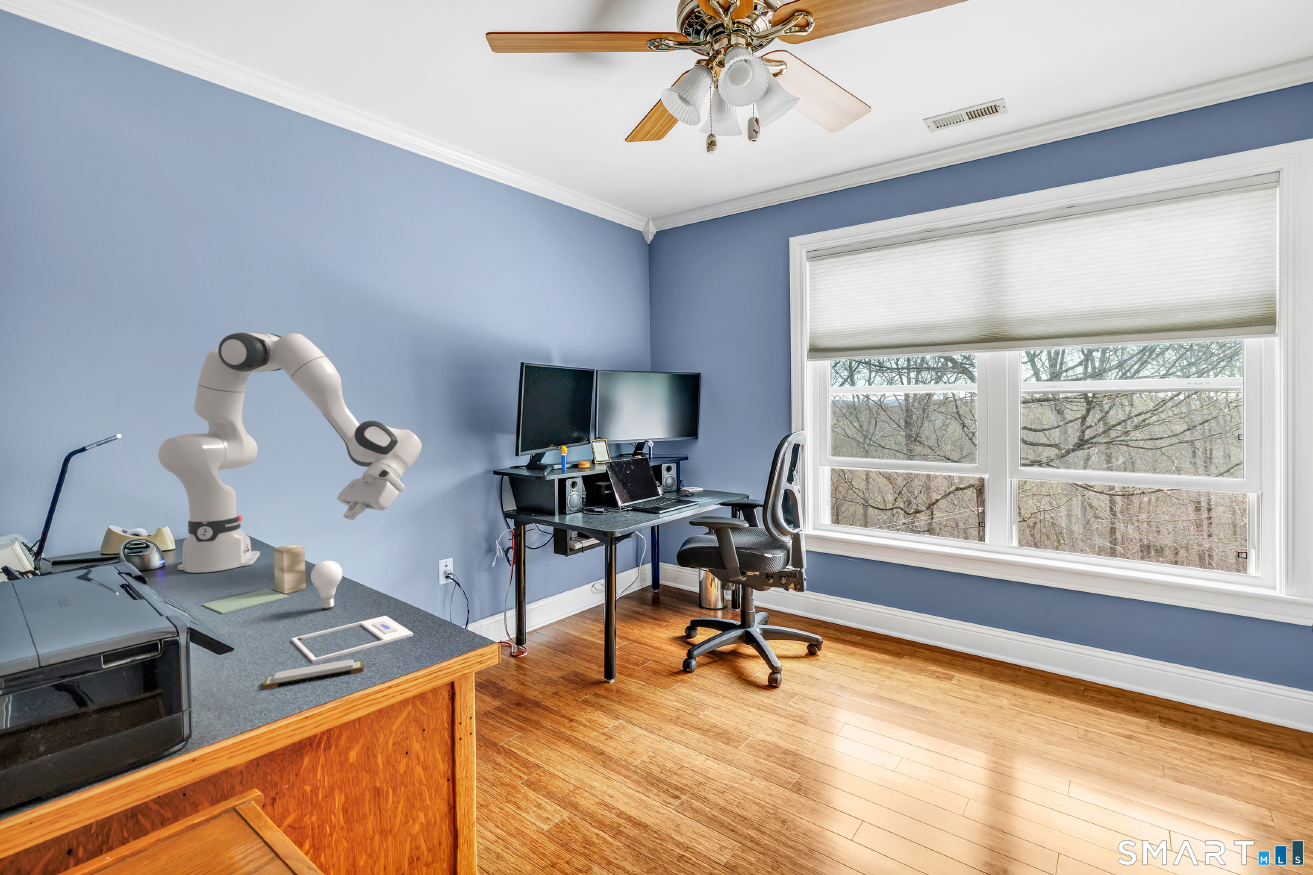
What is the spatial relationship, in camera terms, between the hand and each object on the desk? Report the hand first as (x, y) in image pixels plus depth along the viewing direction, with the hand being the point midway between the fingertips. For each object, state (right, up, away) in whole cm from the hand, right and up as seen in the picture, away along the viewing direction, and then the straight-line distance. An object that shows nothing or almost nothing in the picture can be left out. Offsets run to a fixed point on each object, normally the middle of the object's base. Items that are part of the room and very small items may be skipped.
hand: (347, 518), depth 163 cm
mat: (-14, -17, -20) cm, 30 cm away
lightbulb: (+9, -17, -26) cm, 33 cm away
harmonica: (+26, -19, -61) cm, 69 cm away
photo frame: (+24, -18, -44) cm, 53 cm away
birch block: (-8, -17, -12) cm, 22 cm away
